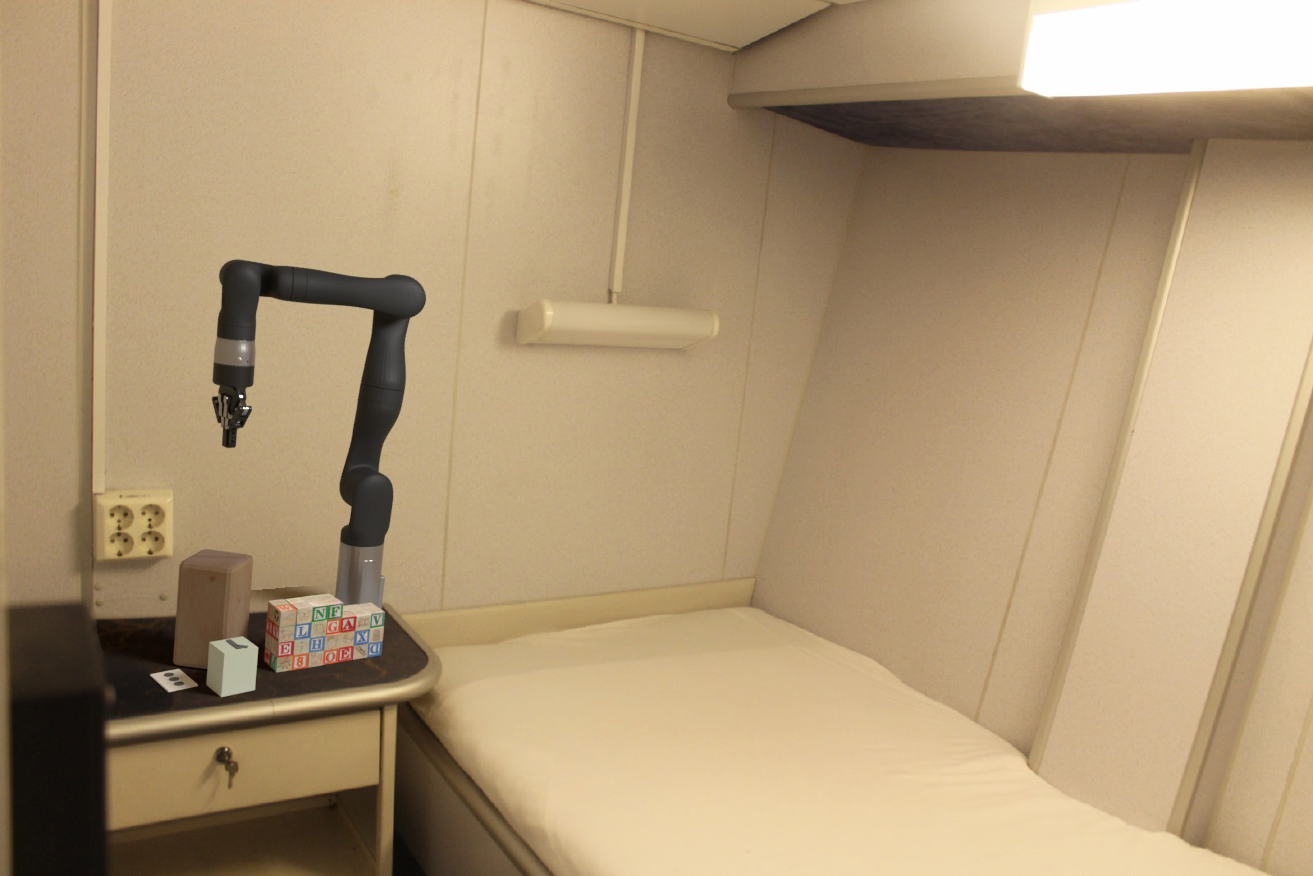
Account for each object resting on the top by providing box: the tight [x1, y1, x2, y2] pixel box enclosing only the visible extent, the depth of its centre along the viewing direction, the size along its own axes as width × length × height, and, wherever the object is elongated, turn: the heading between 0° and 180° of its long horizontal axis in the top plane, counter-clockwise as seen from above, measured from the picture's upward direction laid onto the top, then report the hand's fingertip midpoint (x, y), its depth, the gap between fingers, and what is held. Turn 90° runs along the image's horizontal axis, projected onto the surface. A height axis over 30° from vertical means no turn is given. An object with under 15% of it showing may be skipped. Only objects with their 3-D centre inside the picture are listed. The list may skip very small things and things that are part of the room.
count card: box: [149, 668, 199, 693], centre depth 174 cm, size 8×5×1 cm, turn 47°
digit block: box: [205, 636, 259, 698], centre depth 174 cm, size 6×6×8 cm
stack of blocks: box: [263, 593, 386, 673], centre depth 191 cm, size 21×6×12 cm, turn 131°
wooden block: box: [172, 548, 254, 670], centre depth 183 cm, size 10×10×20 cm
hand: (228, 447), depth 197 cm, fingers closed
